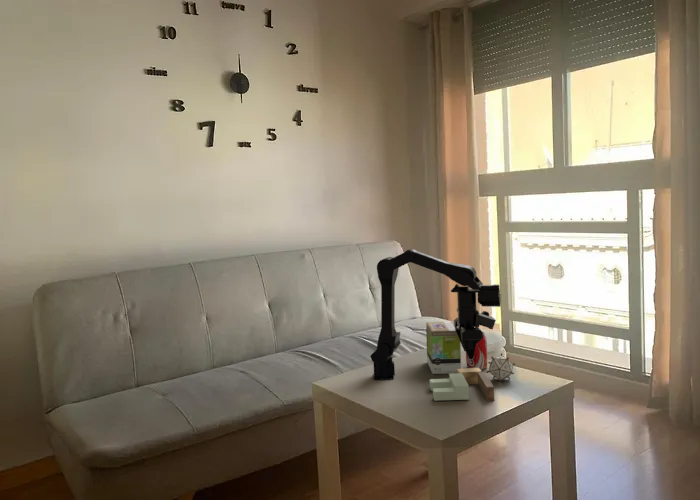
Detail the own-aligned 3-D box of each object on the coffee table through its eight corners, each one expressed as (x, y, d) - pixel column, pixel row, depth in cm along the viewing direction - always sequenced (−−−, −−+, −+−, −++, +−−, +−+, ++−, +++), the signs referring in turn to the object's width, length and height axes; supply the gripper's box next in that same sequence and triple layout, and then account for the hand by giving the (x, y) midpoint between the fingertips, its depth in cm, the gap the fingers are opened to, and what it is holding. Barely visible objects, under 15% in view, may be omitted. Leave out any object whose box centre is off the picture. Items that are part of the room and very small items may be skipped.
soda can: (487, 371, 194) (486, 335, 193) (466, 370, 195) (465, 335, 194) (487, 364, 201) (486, 330, 200) (466, 364, 202) (465, 330, 201)
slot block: (434, 400, 168) (433, 387, 167) (429, 387, 180) (429, 374, 179) (469, 399, 167) (468, 385, 167) (462, 385, 179) (462, 373, 179)
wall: (487, 400, 166) (486, 387, 166) (478, 385, 180) (477, 372, 180) (494, 400, 166) (494, 387, 166) (484, 384, 180) (484, 372, 180)
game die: (507, 392, 183) (524, 371, 178) (483, 385, 182) (499, 364, 176) (502, 371, 191) (517, 350, 185) (479, 364, 189) (493, 343, 184)
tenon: (459, 385, 182) (459, 372, 181) (457, 381, 186) (456, 368, 185) (482, 383, 182) (481, 371, 181) (479, 379, 186) (478, 367, 185)
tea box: (462, 373, 193) (460, 329, 191) (432, 374, 193) (430, 331, 192) (454, 360, 208) (453, 320, 206) (426, 362, 208) (425, 321, 206)
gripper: (499, 310, 172) (500, 362, 173) (486, 299, 190) (488, 346, 192) (461, 312, 172) (463, 363, 174) (452, 301, 191) (454, 347, 192)
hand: (468, 355), depth 183 cm, fingers open, 9 cm apart
